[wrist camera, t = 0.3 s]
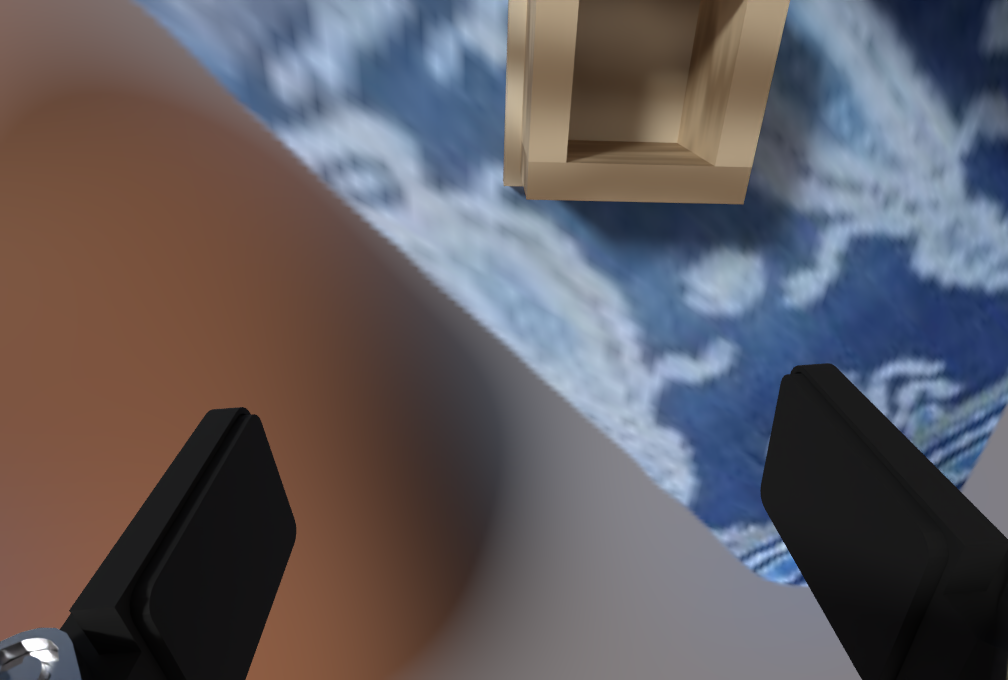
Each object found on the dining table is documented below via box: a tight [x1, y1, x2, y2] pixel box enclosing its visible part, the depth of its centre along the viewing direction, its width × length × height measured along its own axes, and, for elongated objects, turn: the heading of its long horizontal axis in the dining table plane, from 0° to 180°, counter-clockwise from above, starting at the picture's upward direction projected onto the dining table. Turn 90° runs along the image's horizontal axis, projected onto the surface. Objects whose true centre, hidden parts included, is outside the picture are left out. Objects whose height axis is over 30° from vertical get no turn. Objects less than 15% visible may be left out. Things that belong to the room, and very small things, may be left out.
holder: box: [503, 0, 790, 204], centre depth 33 cm, size 14×14×8 cm
